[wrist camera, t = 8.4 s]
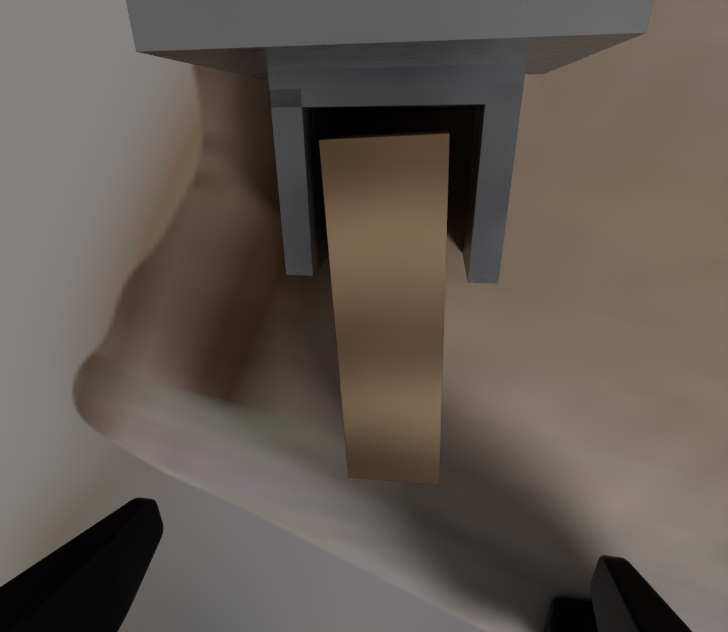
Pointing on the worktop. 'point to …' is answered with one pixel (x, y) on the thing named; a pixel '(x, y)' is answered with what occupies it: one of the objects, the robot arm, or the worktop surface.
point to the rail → (389, 296)
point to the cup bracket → (387, 82)
